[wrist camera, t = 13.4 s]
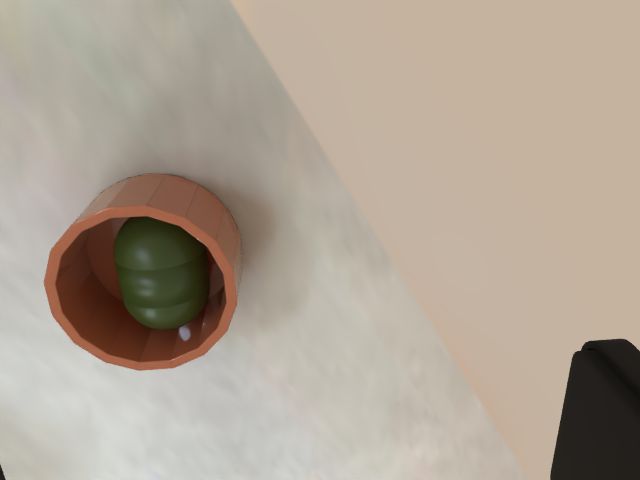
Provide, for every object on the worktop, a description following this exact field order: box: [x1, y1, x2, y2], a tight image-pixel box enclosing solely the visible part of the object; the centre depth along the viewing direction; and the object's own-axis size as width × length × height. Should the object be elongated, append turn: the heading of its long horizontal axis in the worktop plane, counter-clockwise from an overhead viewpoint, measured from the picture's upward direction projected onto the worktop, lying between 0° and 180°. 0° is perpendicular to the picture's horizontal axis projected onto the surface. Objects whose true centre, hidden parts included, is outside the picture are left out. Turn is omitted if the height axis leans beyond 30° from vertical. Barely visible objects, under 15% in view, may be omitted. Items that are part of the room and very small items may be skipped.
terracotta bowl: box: [44, 174, 242, 370], centre depth 33 cm, size 10×10×6 cm
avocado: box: [113, 216, 210, 330], centre depth 33 cm, size 8×5×5 cm
